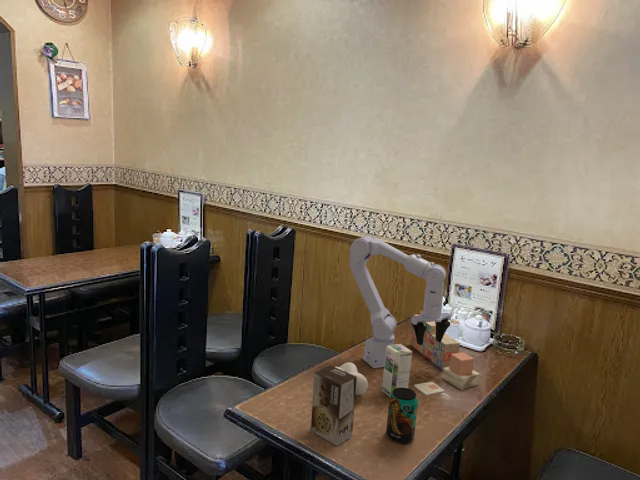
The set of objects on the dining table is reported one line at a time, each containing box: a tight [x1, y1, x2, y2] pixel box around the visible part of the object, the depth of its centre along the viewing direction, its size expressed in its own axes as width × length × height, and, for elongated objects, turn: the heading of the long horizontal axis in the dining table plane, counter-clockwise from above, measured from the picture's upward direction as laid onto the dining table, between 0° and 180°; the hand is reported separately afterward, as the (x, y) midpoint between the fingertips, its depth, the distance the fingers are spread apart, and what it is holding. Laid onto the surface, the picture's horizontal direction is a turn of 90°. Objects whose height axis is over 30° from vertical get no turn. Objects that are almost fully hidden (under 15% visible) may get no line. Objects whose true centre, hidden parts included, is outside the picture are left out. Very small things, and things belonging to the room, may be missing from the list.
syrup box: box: [381, 343, 413, 398], centre depth 140 cm, size 6×6×14 cm
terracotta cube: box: [449, 352, 475, 375], centre depth 151 cm, size 5×5×5 cm
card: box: [413, 381, 445, 396], centre depth 146 cm, size 7×6×1 cm
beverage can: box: [385, 387, 419, 444], centre depth 119 cm, size 7×7×12 cm
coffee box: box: [310, 364, 357, 447], centre depth 118 cm, size 9×6×16 cm
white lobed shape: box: [334, 362, 369, 396], centre depth 138 cm, size 11×12×9 cm
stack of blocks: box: [410, 313, 461, 370], centre depth 169 cm, size 21×6×12 cm, turn 18°
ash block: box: [441, 366, 481, 390], centre depth 152 cm, size 8×8×4 cm
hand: (428, 342), depth 155 cm, fingers open, 7 cm apart
